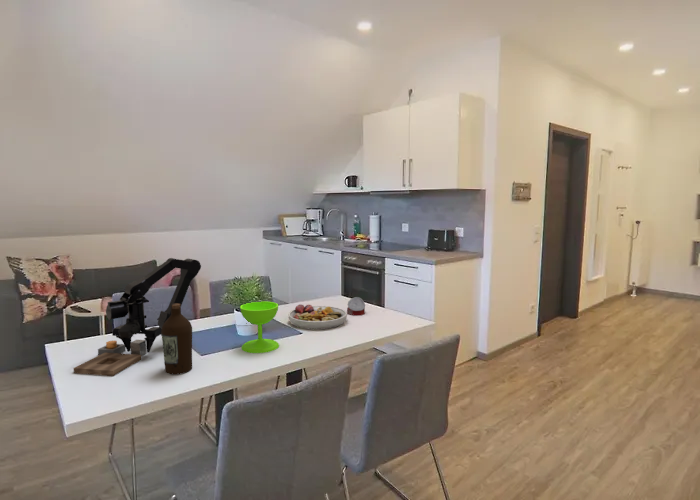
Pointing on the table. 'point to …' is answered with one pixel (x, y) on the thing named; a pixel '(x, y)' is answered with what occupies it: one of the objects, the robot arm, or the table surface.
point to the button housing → (118, 349)
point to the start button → (111, 344)
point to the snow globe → (356, 307)
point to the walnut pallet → (107, 364)
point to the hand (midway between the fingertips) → (138, 351)
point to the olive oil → (177, 342)
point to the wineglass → (259, 325)
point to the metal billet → (138, 347)
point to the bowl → (317, 317)
